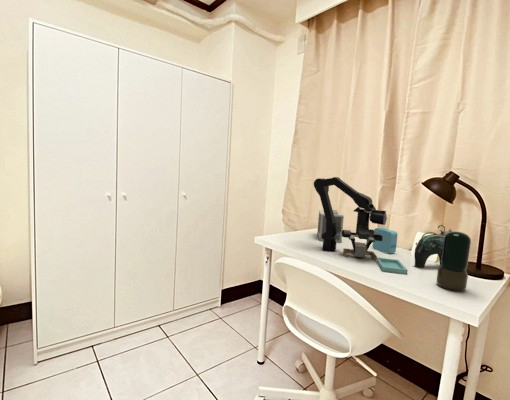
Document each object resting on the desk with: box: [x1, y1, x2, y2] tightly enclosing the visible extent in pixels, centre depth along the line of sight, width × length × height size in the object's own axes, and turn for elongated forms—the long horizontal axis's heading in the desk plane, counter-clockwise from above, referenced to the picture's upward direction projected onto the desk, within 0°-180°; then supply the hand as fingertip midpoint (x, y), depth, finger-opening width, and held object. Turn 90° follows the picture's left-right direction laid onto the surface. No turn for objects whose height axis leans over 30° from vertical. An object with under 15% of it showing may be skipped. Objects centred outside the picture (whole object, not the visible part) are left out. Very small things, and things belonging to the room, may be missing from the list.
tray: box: [375, 256, 408, 275], centre depth 129 cm, size 10×14×2 cm
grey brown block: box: [354, 241, 368, 258], centre depth 143 cm, size 5×9×5 cm, turn 163°
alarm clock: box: [316, 209, 345, 244], centre depth 177 cm, size 18×13×18 cm
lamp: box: [436, 230, 472, 292], centre depth 109 cm, size 10×10×22 cm
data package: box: [372, 227, 398, 254], centre depth 156 cm, size 12×4×12 cm, turn 24°
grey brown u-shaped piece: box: [342, 247, 378, 261], centre depth 144 cm, size 15×9×2 cm, turn 77°
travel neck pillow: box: [413, 224, 453, 269], centre depth 133 cm, size 20×6×20 cm, turn 102°
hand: (359, 251), depth 143 cm, fingers closed on grey brown block, 5 cm apart
